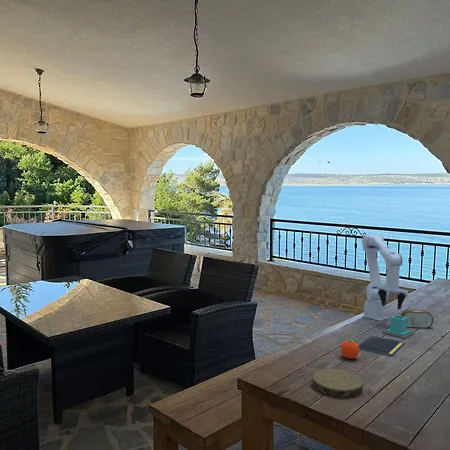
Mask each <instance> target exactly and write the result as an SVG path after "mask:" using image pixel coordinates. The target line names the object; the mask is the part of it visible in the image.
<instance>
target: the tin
mask: <svg viewBox="0 0 450 450" xmlns="http://www.w3.org/2000/svg"><path fill="white" fill-rule="evenodd" d="M400 316H403V317H407V328H413V329H428V328H431V326H433V324H434V316H433V315H432V313H430V311H428V310H425V309H424V310H423V309H422V310H421V309H405V310H403V311H402V312H401V314H400Z"/></svg>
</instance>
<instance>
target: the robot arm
mask: <svg viewBox="0 0 450 450" xmlns="http://www.w3.org/2000/svg"><path fill="white" fill-rule="evenodd" d="M361 243H362V244H361V245H362V251H364V252H365V254H366V260H367V261H366V262H367V266H368V272H369V279H370V283H369V284H368V285H366V298H367V299H365V302H364V304H363V305H364V307H363V308H364V309H363V315H362V317H363V318H366V319H371V320H376V321H380V322H381V321H383V320H386V319H388V317H387V316H385V306H386V302H387V300H388V299H390V297H389V296H390V293H395V294H397V295H396V297H397V310H401V309H402V305H403V303H404V300H405V299H406V297H407V296H408V295H409V290H406V289H402V288H400V273H401V272H400V269H401V267H402V266H403V262H404V261H403V256H402V255H401V253H396V252H395V251H394V249H393V248H392V247H391V246H390V245H386V243H385V238H384V235H383V234H371V233H369V234H368V233H367V234H366V233H365V234H363V236H362V239H361ZM378 252H379V253H380V255H381V257H383V259H384V264H385V269H386V274H385V275H386V278H385V280H386V281H385V283H384V282H382V280H381V275H380V269H379V262H378V257H377V253H378Z"/></svg>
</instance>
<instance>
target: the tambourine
mask: <svg viewBox="0 0 450 450" xmlns="http://www.w3.org/2000/svg"><path fill="white" fill-rule="evenodd" d="M363 385H364V381H363V380H362V377H360V376H359V375H358V374H356V373H353V372H351V371H347V370H344V369H338V368H323V369H320V370H316V371H315V372H314V373H313V375H312V386H313V388H314V389H315V390H316V391H317V392H319V393H321V394H323V395H326V396H329V397H332V398H338V399H350V398H356V397H358V396H360V395H361V394H362V393H363V390H364V389H363Z"/></svg>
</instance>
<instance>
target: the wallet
mask: <svg viewBox="0 0 450 450" xmlns="http://www.w3.org/2000/svg"><path fill="white" fill-rule="evenodd" d="M405 345H406V343H405V342H401V341H399V340H395V339H392V338H391V339H390V338H386V337H381V336H377V335H372V336H370V337H368V338H367V339H366V340H365V341H363V342H362V343H360V344H358V347H359V351H364V352H369V353H374V354H377V355H381V356H386V357H392V358H393V356H395V355H396V354H397V353H398V351H399V350H401V349H402V348H403V346H405Z"/></svg>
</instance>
